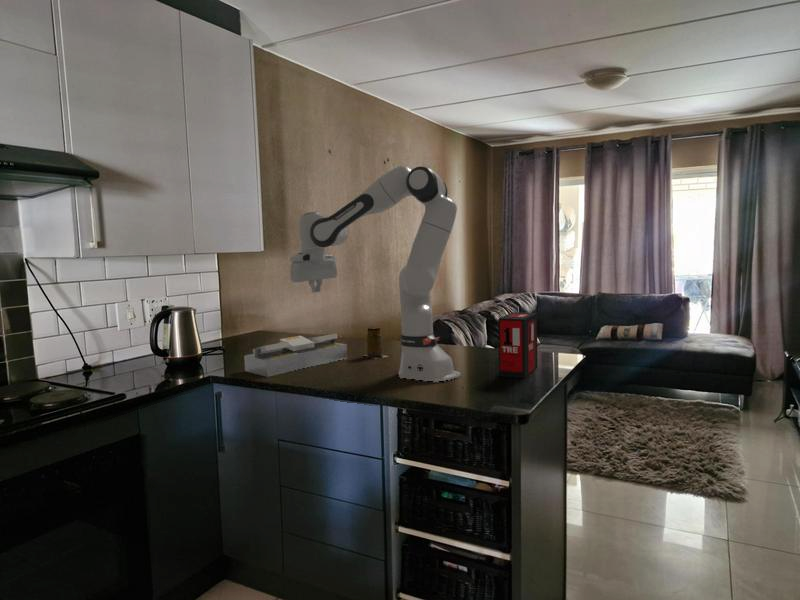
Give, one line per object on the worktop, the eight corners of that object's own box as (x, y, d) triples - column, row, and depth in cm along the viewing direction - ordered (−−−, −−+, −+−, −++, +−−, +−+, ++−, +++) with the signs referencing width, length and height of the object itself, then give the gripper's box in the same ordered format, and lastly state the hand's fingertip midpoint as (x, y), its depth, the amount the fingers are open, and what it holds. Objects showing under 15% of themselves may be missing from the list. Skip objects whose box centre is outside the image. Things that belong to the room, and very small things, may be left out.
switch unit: (347, 358, 226) (346, 336, 225) (267, 376, 198) (266, 351, 198) (323, 354, 236) (322, 332, 235) (245, 371, 209) (243, 346, 208)
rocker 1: (289, 346, 208) (288, 341, 209) (266, 351, 201) (264, 345, 201) (276, 350, 215) (275, 344, 215) (253, 354, 207) (252, 349, 207)
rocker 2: (314, 347, 218) (315, 342, 217) (292, 351, 210) (293, 346, 210) (300, 340, 223) (301, 335, 223) (279, 344, 216) (279, 339, 215)
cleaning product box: (524, 378, 186) (524, 319, 184) (499, 375, 190) (498, 318, 188) (537, 367, 200) (537, 313, 198) (513, 366, 205) (512, 312, 203)
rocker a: (338, 337, 226) (337, 332, 226) (318, 341, 218) (317, 336, 218) (324, 340, 232) (323, 335, 232) (304, 344, 224) (303, 339, 225)
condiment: (376, 354, 234) (375, 326, 233) (388, 356, 228) (388, 328, 227) (362, 356, 230) (361, 328, 229) (374, 359, 223) (373, 330, 222)
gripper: (328, 254, 219) (331, 289, 221) (286, 257, 204) (289, 295, 206) (339, 253, 215) (342, 289, 216) (296, 257, 200) (300, 295, 201)
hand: (316, 292), depth 211 cm, fingers closed
